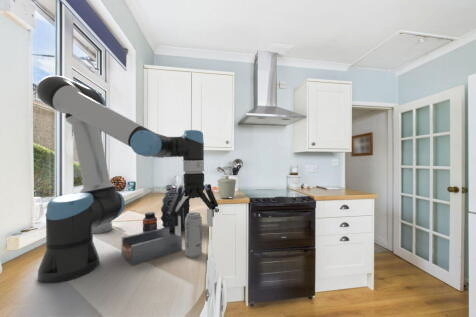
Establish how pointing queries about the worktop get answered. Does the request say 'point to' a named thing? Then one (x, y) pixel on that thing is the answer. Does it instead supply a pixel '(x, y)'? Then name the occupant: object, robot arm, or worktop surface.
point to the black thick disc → (167, 201)
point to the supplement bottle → (149, 222)
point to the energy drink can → (193, 235)
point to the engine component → (103, 227)
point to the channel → (150, 245)
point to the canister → (226, 187)
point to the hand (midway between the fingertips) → (194, 230)
